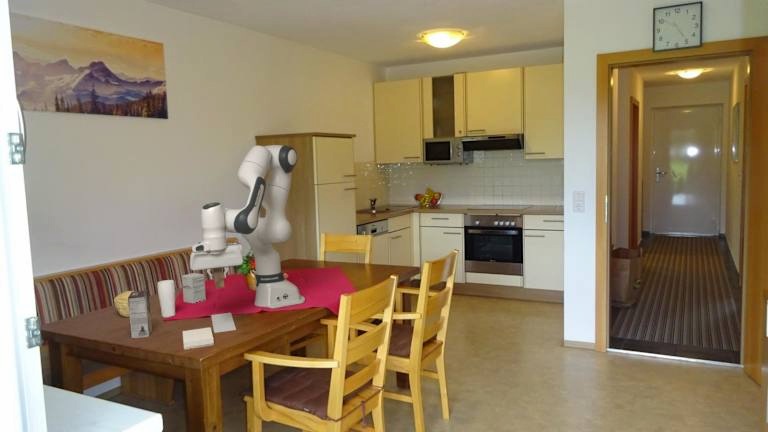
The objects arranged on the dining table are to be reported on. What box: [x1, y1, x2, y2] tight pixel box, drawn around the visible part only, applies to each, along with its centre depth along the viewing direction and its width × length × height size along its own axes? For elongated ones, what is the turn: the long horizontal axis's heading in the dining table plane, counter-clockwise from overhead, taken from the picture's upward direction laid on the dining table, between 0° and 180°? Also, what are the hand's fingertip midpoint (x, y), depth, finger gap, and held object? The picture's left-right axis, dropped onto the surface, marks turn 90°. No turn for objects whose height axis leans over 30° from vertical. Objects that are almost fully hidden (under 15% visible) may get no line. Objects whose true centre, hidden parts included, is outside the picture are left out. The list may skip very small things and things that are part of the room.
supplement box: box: [181, 272, 207, 304], centre depth 262 cm, size 7×7×13 cm
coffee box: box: [128, 289, 153, 340], centre depth 214 cm, size 9×6×16 cm
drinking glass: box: [157, 279, 176, 319], centre depth 238 cm, size 7×7×15 cm
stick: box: [212, 267, 225, 290], centre depth 223 cm, size 3×22×4 cm, turn 19°
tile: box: [182, 327, 215, 350], centre depth 204 cm, size 10×3×14 cm
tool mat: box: [210, 312, 237, 334], centre depth 225 cm, size 8×26×1 cm, turn 19°
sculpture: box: [113, 290, 137, 318], centre depth 243 cm, size 12×12×11 cm
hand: (218, 278), depth 223 cm, fingers closed on stick, 3 cm apart
